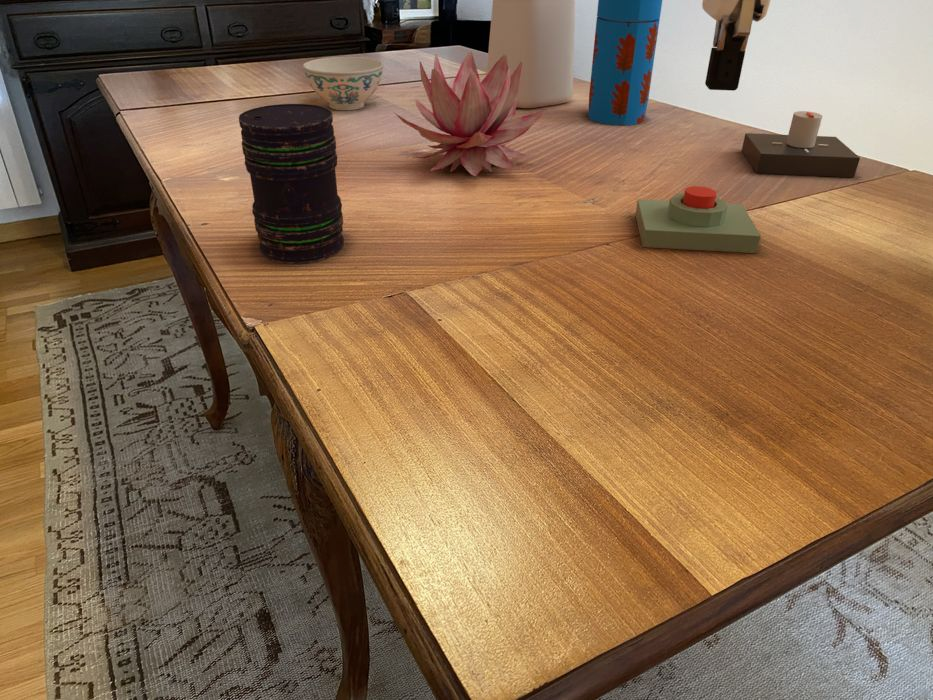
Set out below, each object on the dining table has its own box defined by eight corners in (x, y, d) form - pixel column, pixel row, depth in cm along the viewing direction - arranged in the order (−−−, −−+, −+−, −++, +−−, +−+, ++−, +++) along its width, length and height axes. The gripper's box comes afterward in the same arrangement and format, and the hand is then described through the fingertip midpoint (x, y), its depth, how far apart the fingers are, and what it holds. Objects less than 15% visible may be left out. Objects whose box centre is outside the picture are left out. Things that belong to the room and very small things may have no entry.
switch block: (738, 220, 90) (745, 190, 88) (756, 253, 81) (764, 221, 79) (635, 215, 91) (639, 185, 89) (642, 247, 83) (647, 215, 81)
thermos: (656, 117, 132) (679, -34, 119) (625, 128, 126) (645, -30, 112) (608, 107, 138) (624, -38, 125) (575, 117, 132) (589, -35, 118)
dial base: (830, 155, 113) (836, 135, 112) (854, 177, 104) (860, 156, 102) (741, 151, 115) (745, 132, 113) (756, 173, 106) (761, 152, 104)
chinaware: (328, 94, 146) (324, 54, 141) (396, 100, 142) (394, 59, 138) (293, 112, 133) (288, 69, 129) (367, 118, 130) (364, 74, 126)
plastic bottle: (520, 112, 135) (529, -57, 120) (476, 96, 145) (479, -61, 130) (581, 102, 142) (596, -59, 127) (534, 87, 152) (543, -62, 137)
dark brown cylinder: (336, 224, 88) (324, 100, 79) (353, 256, 80) (342, 122, 72) (254, 235, 85) (232, 107, 77) (263, 269, 77) (241, 131, 69)
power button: (710, 200, 86) (713, 186, 85) (716, 211, 83) (719, 197, 82) (680, 199, 86) (683, 185, 85) (684, 210, 83) (687, 195, 82)
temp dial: (783, 140, 110) (791, 108, 107) (810, 141, 109) (818, 109, 107) (789, 147, 106) (798, 115, 104) (817, 148, 106) (826, 116, 103)
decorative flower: (568, 174, 104) (578, 66, 96) (442, 200, 95) (441, 83, 87) (491, 138, 120) (493, 43, 112) (376, 157, 111) (370, 54, 102)
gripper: (706, -112, 74) (676, 73, 84) (735, -114, 61) (696, 103, 71) (780, -111, 73) (741, 75, 83) (824, -113, 61) (773, 106, 70)
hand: (720, 88), depth 77 cm, fingers closed
